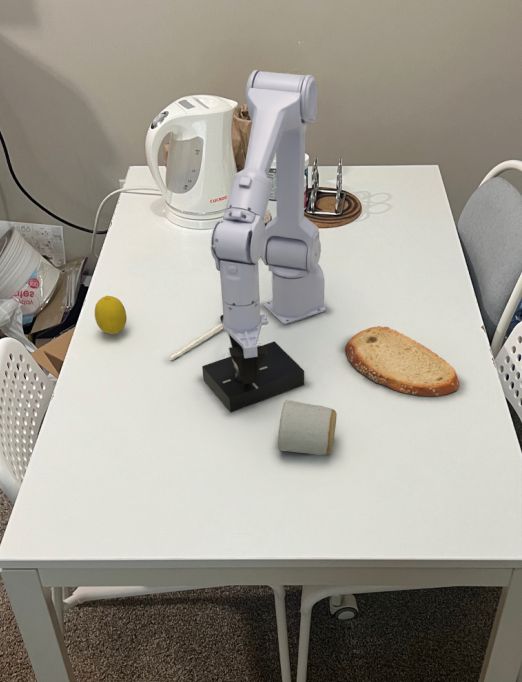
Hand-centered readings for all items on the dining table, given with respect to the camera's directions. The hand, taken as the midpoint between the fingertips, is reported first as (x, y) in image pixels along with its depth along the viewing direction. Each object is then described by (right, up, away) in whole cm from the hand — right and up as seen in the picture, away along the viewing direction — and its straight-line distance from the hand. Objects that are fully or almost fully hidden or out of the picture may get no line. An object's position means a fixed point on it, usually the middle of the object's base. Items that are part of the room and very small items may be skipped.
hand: (244, 368), depth 122 cm
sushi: (-1, +30, +40) cm, 50 cm away
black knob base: (+1, -2, +4) cm, 5 cm away
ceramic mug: (+10, -12, -6) cm, 17 cm away
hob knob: (0, -1, +1) cm, 1 cm away
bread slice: (+26, +1, +8) cm, 28 cm away
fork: (-7, +7, +15) cm, 18 cm away
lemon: (-25, +7, +16) cm, 30 cm away
